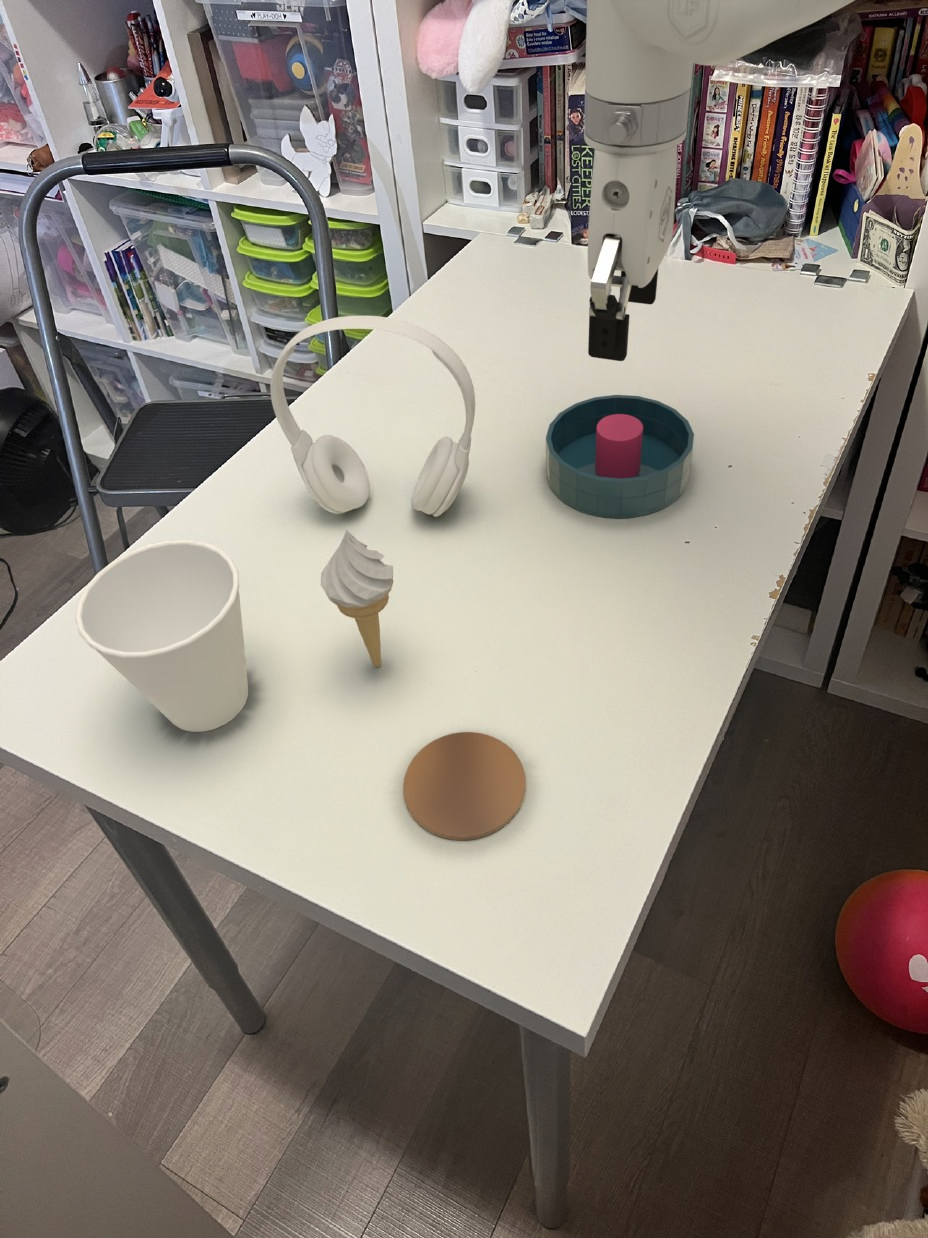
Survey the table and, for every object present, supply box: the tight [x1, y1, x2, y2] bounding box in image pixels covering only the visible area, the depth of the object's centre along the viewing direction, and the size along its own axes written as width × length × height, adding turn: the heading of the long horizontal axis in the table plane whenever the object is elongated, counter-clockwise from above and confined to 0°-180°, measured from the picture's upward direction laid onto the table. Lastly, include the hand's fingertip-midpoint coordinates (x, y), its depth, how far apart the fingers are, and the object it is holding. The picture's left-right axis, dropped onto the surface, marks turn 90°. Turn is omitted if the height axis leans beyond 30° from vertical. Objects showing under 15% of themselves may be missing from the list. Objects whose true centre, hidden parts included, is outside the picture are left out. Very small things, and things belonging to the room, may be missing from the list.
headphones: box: [269, 315, 476, 518], centre depth 81 cm, size 7×18×20 cm, turn 82°
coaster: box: [403, 731, 527, 841], centre depth 65 cm, size 9×9×1 cm
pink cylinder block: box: [595, 414, 643, 478], centre depth 86 cm, size 4×4×5 cm
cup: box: [74, 539, 249, 733], centre depth 68 cm, size 12×12×12 cm
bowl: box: [545, 394, 695, 519], centre depth 87 cm, size 14×14×4 cm
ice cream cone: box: [320, 529, 394, 668], centre depth 69 cm, size 6×6×15 cm
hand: (622, 328), depth 77 cm, fingers open, 9 cm apart
